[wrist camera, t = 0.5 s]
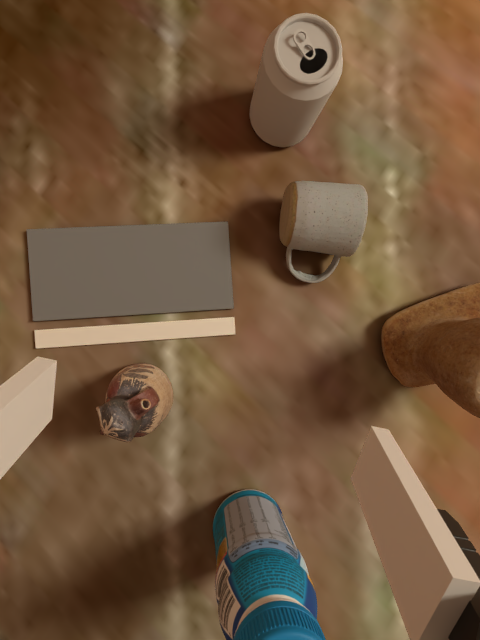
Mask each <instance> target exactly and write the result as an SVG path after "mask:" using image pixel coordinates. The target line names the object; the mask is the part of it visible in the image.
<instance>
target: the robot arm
mask: <svg viewBox="0 0 480 640" xmlns="http://www.w3.org/2000/svg"><path fill="white" fill-rule="evenodd" d="M56 365H57V361H56V360H51V359H47V358H42V357H36V358H35V359H34V360H33V361H31V362H30V363H29V364H27V365H26V366H25V367H24V368H22V369H21V370H20V371H19V372H17V373H16V374H15V375H13V376H12V377H11V378H10V379H8V380H7V381H6V382H4V383H3V384H2V385H1V386H0V479H1V478H2V477H3V476H4V474H5V473H6V472H7V471H8V470H9V469H10V467H11V466H12V465H13V464H14V463H15V462H16V460H17V459H18V458H19V457H20V456H21V455H22V453H23V452H24V451H25V450H26V449H27V448H28V446H29V445H30V444H31V443H32V442H33V441H34V439H35V438H36V437H37V436H38V435H39V434H40V432H41V431H42V430H43V429H44V428H45V427H46V425H47V424H48V423H49V422H50V421H51V420H52V414H53V401H54V389H55V377H56ZM351 481H352V483H353V486H354V489H355V492H356V494H357V497H358V500H359V502H360V505H361V508H362V511H363V513H364V516H365V519H366V521H367V524H368V527H369V529H370V532H371V535H372V538H373V540H374V543H375V546H376V548H377V551H378V554H379V557H380V559H381V562H382V565H383V567H384V570H385V573H386V576H387V578H388V581H389V584H390V586H391V589H392V592H393V595H394V597H395V600H396V603H397V605H398V608H399V611H400V614H401V616H402V619H403V622H404V624H405V627H406V630H407V632H408V635H409V638H410V640H448V639H449V640H480V556H479V554H478V553H476V549H475V548H474V546H473V545H472V543H471V542H470V541H468V537H467V535H466V534H465V532H464V531H463V529H462V528H461V526H460V525H459V523H458V522H457V521H456V520H455V519H454V518H453V517H452V516H451V515H450V514H449V513H447V512H446V511H445V510H440V509H436V507H435V505H434V504H433V502H432V500H431V499H430V497H429V495H428V494H427V492H426V490H425V489H424V487H423V486H422V484H421V482H420V481H419V479H418V477H417V476H416V474H415V472H414V471H413V469H412V467H411V466H410V464H409V462H408V461H407V459H406V457H405V456H404V454H403V453H402V451H401V449H400V448H399V446H398V444H397V443H396V441H395V439H394V438H393V436H392V434H391V433H390V431H389V430H388V429H383V428H378V427H374V426H371V428H370V430H369V433H368V435H367V438H366V440H365V443H364V446H363V448H362V451H361V453H360V456H359V458H358V461H357V463H356V466H355V469H354V471H353V474H352V476H351Z"/></svg>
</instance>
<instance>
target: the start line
mask: <svg viewBox="0 0 480 640" xmlns="http://www.w3.org/2000/svg"><path fill="white" fill-rule="evenodd" d="M34 331H35V345H36V348H50V347H64V346H78V345H92V344H106V343H120V342H134V341H148V340H162V339H176V338H190V337H204V336H218V335H233V334H235V322H234V317H227V318H212V319H197V320H182V321H167V322H152V323H137V324H122V325H107V326H92V327H77V328H62V329H47V330H34Z"/></svg>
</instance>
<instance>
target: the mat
mask: <svg viewBox="0 0 480 640" xmlns="http://www.w3.org/2000/svg"><path fill="white" fill-rule="evenodd" d="M27 242H28V256H29V270H30V285H31V299H32V314H33V321H46V320H62V319H77V318H93V317H108V316H124V315H140V314H155V313H171V312H187V311H202V310H218V309H233V308H234V305H233V290H232V275H231V260H230V245H229V230H228V222H205V223H180V224H154V225H129V226H103V227H78V228H52V229H27Z"/></svg>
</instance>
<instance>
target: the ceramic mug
mask: <svg viewBox="0 0 480 640" xmlns="http://www.w3.org/2000/svg"><path fill="white" fill-rule="evenodd" d="M367 213H368V198H367V192H366V190H365V188H364V187H363V186H362V185H358V184H341V183H327V182H314V181H296V182H292V183H290V184H289V185H288V186H287V188H286V190H285V193H284V196H283V201H282V206H281V213H280V223H279V235H280V241H281V243H282V244H283V245H284V246H286V247H287V251H286V261H287V265H288V268H289V270H290V272H291V273H292V275H293V276H294V277H296V278H297V279H299V280H300V281H304V282H308V283H318V282H321V281H323V280H325V279H326V278H327V277H329V276H330V274H332V272H333V271H334V270H335V268H336V266H337V265H338V262H339V260H340V257H341V256H346V257H347V256H351V255H352V254H354V252H355V251H356V250H357V248H358V246H359V244H360V242H361V239H362V237H363V233H364V230H365V225H366V219H367ZM293 249H297V250H303V251H313V252H319V253H325V254H331V255H334V258H333V260H332V262H331V264H330V265H329V267H328V268H327V270H326V271H325V272H323V273H322V274H320V275H316V276H314V275H309V274H305V273H302V272H301V271H296V270H294V269H293V266H292V264H291V254H292V250H293Z"/></svg>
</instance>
